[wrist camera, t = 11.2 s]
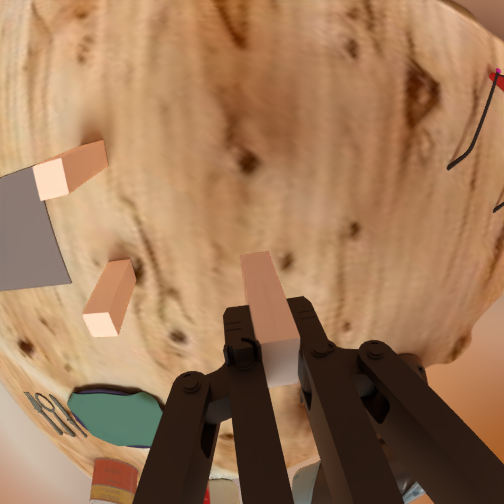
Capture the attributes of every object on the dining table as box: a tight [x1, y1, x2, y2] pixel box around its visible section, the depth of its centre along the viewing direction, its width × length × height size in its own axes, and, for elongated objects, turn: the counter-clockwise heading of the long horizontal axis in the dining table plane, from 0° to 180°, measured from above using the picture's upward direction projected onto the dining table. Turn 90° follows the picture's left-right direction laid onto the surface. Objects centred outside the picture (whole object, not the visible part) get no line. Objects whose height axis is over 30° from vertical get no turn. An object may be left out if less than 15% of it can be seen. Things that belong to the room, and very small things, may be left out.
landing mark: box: [0, 166, 72, 291], centre depth 27 cm, size 14×14×1 cm
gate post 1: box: [33, 140, 108, 201], centre depth 21 cm, size 3×3×9 cm
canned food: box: [90, 458, 138, 504], centre depth 49 cm, size 11×11×12 cm
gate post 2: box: [82, 259, 136, 337], centre depth 27 cm, size 3×3×9 cm
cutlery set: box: [24, 389, 163, 448], centre depth 43 cm, size 20×30×2 cm, turn 95°
